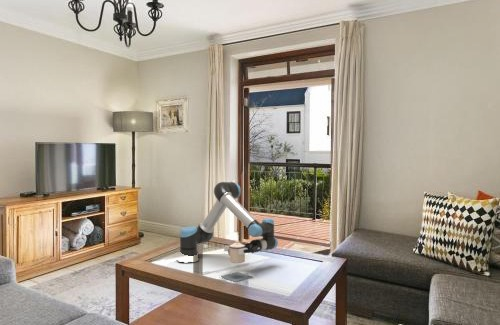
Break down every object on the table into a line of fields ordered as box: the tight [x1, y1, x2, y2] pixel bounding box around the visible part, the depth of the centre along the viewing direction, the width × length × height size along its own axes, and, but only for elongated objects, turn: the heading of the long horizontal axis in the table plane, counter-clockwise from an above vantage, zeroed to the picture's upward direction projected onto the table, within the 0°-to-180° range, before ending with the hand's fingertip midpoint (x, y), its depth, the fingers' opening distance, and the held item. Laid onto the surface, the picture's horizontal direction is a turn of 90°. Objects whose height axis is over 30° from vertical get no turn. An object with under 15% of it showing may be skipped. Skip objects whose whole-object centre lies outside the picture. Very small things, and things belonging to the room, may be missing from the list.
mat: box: [220, 271, 254, 283], centre depth 179 cm, size 14×14×1 cm
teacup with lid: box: [227, 240, 246, 264], centre depth 179 cm, size 12×9×12 cm
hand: (231, 250), depth 177 cm, fingers closed on teacup with lid, 12 cm apart
